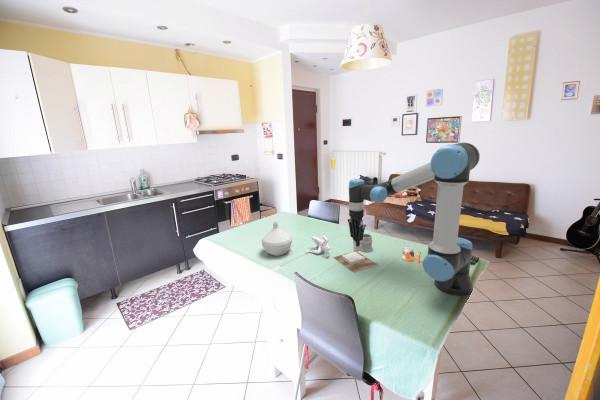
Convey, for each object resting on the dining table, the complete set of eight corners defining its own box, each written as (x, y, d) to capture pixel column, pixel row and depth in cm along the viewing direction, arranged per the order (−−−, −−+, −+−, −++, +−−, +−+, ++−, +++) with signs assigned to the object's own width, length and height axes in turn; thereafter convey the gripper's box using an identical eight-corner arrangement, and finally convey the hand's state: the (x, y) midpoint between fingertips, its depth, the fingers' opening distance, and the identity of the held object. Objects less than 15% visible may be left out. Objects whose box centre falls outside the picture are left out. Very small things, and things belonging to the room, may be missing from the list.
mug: (366, 255, 161) (366, 235, 158) (351, 248, 170) (351, 230, 167) (375, 251, 165) (375, 232, 162) (360, 245, 174) (360, 227, 171)
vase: (298, 250, 171) (297, 221, 166) (276, 262, 158) (274, 230, 153) (278, 243, 183) (276, 215, 178) (256, 253, 170) (253, 223, 165)
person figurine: (302, 235, 167) (327, 236, 155) (315, 233, 177) (339, 233, 165) (303, 257, 166) (328, 259, 155) (316, 253, 176) (340, 255, 165)
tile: (365, 258, 151) (355, 251, 159) (351, 262, 147) (341, 255, 155) (365, 261, 151) (355, 254, 159) (351, 265, 148) (341, 258, 156)
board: (378, 267, 147) (378, 265, 146) (353, 275, 140) (353, 272, 140) (356, 252, 164) (356, 251, 164) (332, 259, 158) (332, 257, 158)
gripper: (370, 210, 139) (369, 254, 145) (354, 205, 151) (355, 245, 157) (358, 213, 136) (358, 257, 142) (343, 207, 148) (343, 248, 154)
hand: (356, 251), depth 150 cm, fingers closed
